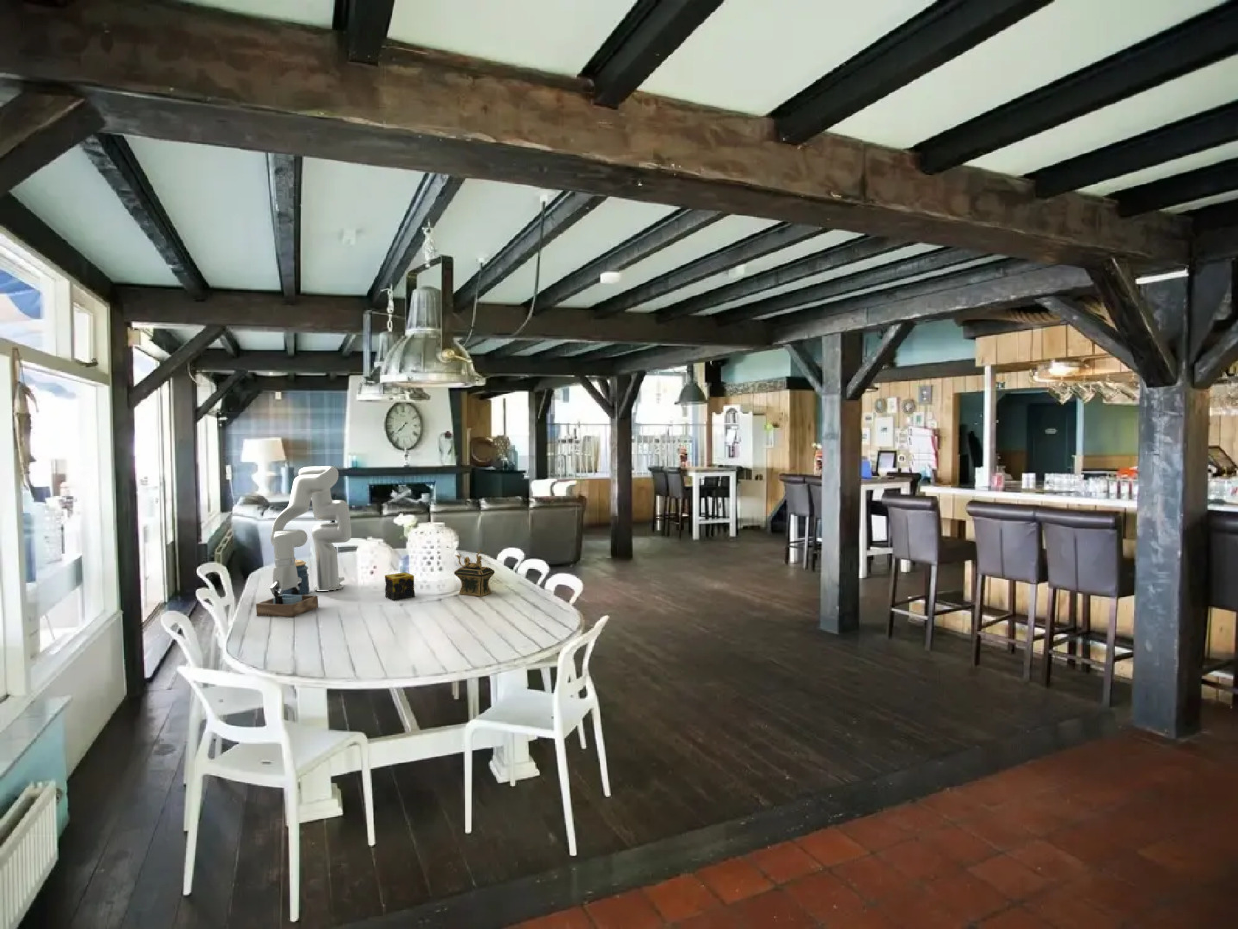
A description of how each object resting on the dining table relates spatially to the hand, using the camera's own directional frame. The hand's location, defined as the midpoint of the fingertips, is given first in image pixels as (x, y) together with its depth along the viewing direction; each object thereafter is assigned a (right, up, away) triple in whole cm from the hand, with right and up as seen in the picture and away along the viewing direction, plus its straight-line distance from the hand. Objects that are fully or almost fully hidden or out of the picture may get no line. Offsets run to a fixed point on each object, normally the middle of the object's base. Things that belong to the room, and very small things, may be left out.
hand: (287, 602), depth 301 cm
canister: (-12, -3, +33) cm, 35 cm away
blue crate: (0, -3, 0) cm, 3 cm away
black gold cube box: (+42, -2, +19) cm, 46 cm away
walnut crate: (0, -4, 0) cm, 4 cm away
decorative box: (+73, 0, +21) cm, 76 cm away
